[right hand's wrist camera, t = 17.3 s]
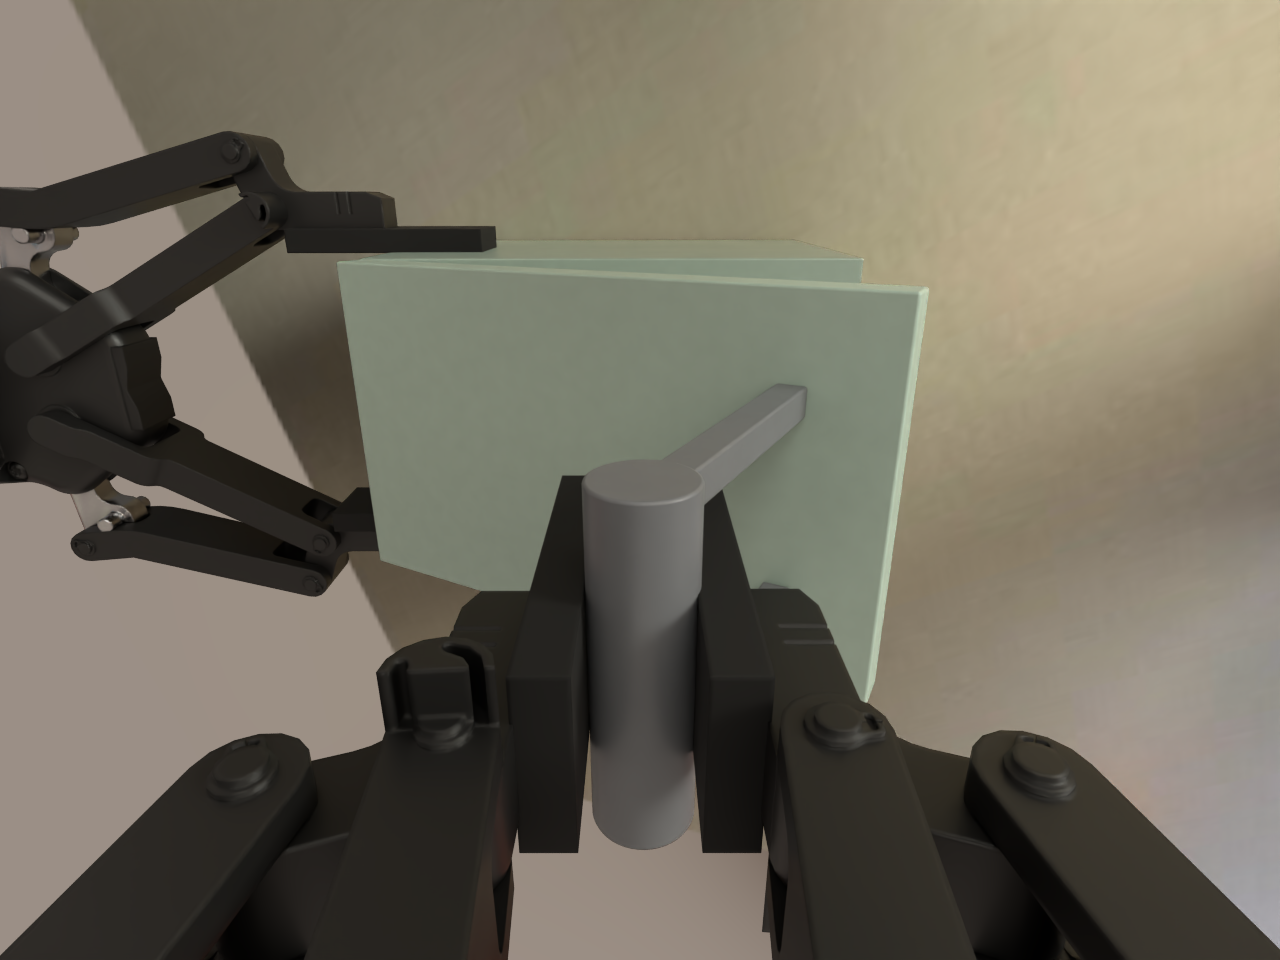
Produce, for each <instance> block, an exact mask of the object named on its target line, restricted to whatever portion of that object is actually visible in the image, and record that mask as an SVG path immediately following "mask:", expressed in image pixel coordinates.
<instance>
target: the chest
mask: <svg viewBox="0 0 1280 960" xmlns="http://www.w3.org/2000/svg"><path fill="white" fill-rule="evenodd" d="M496 244H497V247H496V248H493V249H490V250H487V251H484V252H391V253H386V254H381V255H376V256H371V257H366V258H362V259H359V260H363V259H369V260H389V261H410V262H431V263H451V264H472V265H493V266H513V267H534V268H555V269H575V270H596V271H617V272H638V273H658V274H679V275H700V276H720V277H741V278H762V279H782V280H803V281H824V282H844V283H861V277H862V268H863V258H860V257H856V256H853V255H849V254H845V253H841V252H838V251H834V250H830V249H827V248H823V247H819V246H816V245H812V244H808V243H805V242H801V241H796V240H496Z"/></svg>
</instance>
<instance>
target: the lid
mask: <svg viewBox="0 0 1280 960" xmlns="http://www.w3.org/2000/svg"><path fill="white" fill-rule="evenodd" d="M337 271H338V277H339V284H340V291H341V298H342V304H343V311H344V318H345V325H346V331H347V338H348V345H349V352H350V358H351V365H352V372H353V379H354V385H355V392H356V399H357V406H358V412H359V419H360V426H361V433H362V439H363V446H364V453H365V460H366V466H367V473H368V480H369V487H370V493H371V500H372V507H373V514H374V520H375V527H376V534H377V541H378V547H379V554H380V560H381V561H384V562H387V563H390V564H393V565H397V566H400V567H403V568H407V569H410V570H413V571H417V572H420V573H423V574H426V575H430V576H433V577H436V578H440V579H443V580H446V581H450V582H453V583H456V584H459V585H463V586H466V587H469V588H473V589H476V590H479V591H530V588H531V584H532V581H533V577H534V574H535V570H536V566H537V563H538V559H539V556H540V552H541V549H542V545H543V542H544V538H545V534H546V531H547V527H548V524H549V520H550V517H551V513H552V510H553V506H554V503H555V499H556V495H557V492H558V488H559V485H560V481H561V478H562V475H585V476H584V478H583V480H582V510H583V540H584V570H585V599H586V629H587V659H588V689H589V718H590V748H591V778H592V807H593V816H594V819H595V822H596V824H597V826H598V828H599V829H600V830H601V832H602V833H603V834H604V835H605V836H606V837H607V838H609V839H610V840H611V841H613V842H615V843H617V844H619V845H621V846H624V847H627V848H631V849H638V850H648V849H656V848H660V847H663V846H666V845H668V844H670V843H672V842H674V841H676V840H677V839H678V838H679V837H681V836H682V835H683V834H684V833H685V831H686V830H687V829H688V827H689V826H690V824H691V822H692V819H693V816H694V801H695V767H694V756H693V735H694V705H695V674H696V644H697V613H698V594H699V593H700V591H701V586H702V556H703V526H704V505H705V504H706V503H707V502H708V501H709V500H711V499H712V498H713V497H714V496H715V495H716V494H717V493H719V492H720V491H721V490H722V489H723V493H724V497H725V500H726V504H727V507H728V511H729V514H730V518H731V521H732V525H733V528H734V532H735V536H736V539H737V543H738V546H739V550H740V553H741V557H742V560H743V564H744V567H745V571H746V574H747V578H748V582H749V585H750V589H800V590H801V591H802V592H804V593H805V594H806V595H807V596H808V597H810V598H811V599H812V600H813V601H814V602H816V603H817V604H818V605H819V607H820V609H821V611H822V613H823V616H824V618H825V620H826V623H827V628H829V629H830V632H831V634H832V636H833V638H834V644H835V645H837V648H838V650H839V652H840V654H841V657H842V659H843V661H844V664H845V666H846V668H847V670H848V673H849V675H850V677H851V679H852V682H853V684H854V686H855V689H856V691H857V693H858V695H859V698H860V700H861V701H863V702H866V703H867V701H868V699H869V696H870V693H871V691H872V688H873V685H874V683H875V676H876V669H877V662H878V654H879V647H880V640H881V633H882V626H883V618H884V611H885V604H886V597H887V590H888V582H889V575H890V568H891V561H892V554H893V546H894V539H895V532H896V525H897V518H898V510H899V503H900V496H901V489H902V482H903V475H904V467H905V460H906V453H907V446H908V439H909V431H910V424H911V417H912V410H913V403H914V395H915V388H916V381H917V374H918V367H919V359H920V352H921V345H922V338H923V331H924V323H925V316H926V309H927V302H928V295H929V288H928V287H926V286H907V285H886V284H865V283H844V282H824V281H803V280H782V279H762V278H741V277H720V276H700V275H679V274H658V273H638V272H617V271H596V270H575V269H555V268H534V267H513V266H493V265H472V264H451V263H431V262H410V261H389V260H369V259H363V260H352V261H340V262H337Z"/></svg>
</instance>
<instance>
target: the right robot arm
mask: <svg viewBox="0 0 1280 960" xmlns="http://www.w3.org/2000/svg"><path fill="white" fill-rule="evenodd" d="M584 476H585V475H562V478H561V481H560V485H559V488H558V492H557V495H556V499H555V503H554V506H553V510H552V513H551V517H550V520H549V524H548V527H547V531H546V534H545V538H544V542H543V545H542V549H541V552H540V556H539V559H538V563H537V566H536V570H535V574H534V577H533V581H532V584H531V588H530V591H481V592H480V593H479V594H478V595H476V596H475V597H474V598H473V599H472V600H470V601H469V602H468V603H467V604H466V605H464V606H463V607H462V609H461V611H460V613H459V616H458V618H457V620H456V623H455V625H454V630H453V631H452V632H451V634H450V636H449V637H441V638H434V639H428V640H423V641H420V642H417V643H414V644H412V645H409V646H406V647H404V648H402V649H400V650H399V651H397V652H396V653H394V654H393V655H391V656H390V657H389V658H387V659H386V660H385V661H384V663H383V664H382V665H381V667H380V668H379V669H378V671H377V672H376V675H377V681H378V688H379V694H380V700H381V707H382V713H383V719H384V726H385V734H384V737H383V740H382V741H380V742H378V743H376V744H374V745H372V746H369V747H366V748H363V749H359V750H356V751H353V752H349V753H344V754H340V755H336V756H331V757H327V758H322V759H318V760H314V761H311V757H310V752H309V749H308V748H307V747H306V746H305V745H304V744H303V742H302V741H301V740H300V739H298V738H295V737H292V736H289V735H285V734H282V733H279V734H257V735H253V736H250V737H246V738H242V739H238V740H234V741H232V742H230V743H228V744H226V745H224V746H222V747H220V748H218V749H216V750H213V751H211V752H210V753H208V754H207V755H206V756H204V757H203V758H202V759H200V760H199V761H198V762H197V763H195V764H194V765H193V766H191V767H190V768H189V769H188V770H187V771H186V772H185V773H184V774H183V775H182V776H181V777H180V778H179V779H178V780H177V781H176V782H175V783H174V784H173V785H172V786H171V787H170V788H169V789H168V790H167V791H166V792H165V793H164V794H163V795H162V796H161V797H160V798H159V799H158V800H157V801H156V802H155V803H154V804H153V805H152V806H151V807H150V808H149V809H148V810H147V811H146V812H145V813H144V814H143V815H142V816H141V817H140V818H139V819H138V820H137V821H135V822H134V823H133V825H131V826H130V827H129V828H128V829H127V830H126V831H125V832H124V834H122V835H121V836H120V837H119V838H118V839H117V840H116V841H115V842H114V843H113V844H112V845H111V846H110V847H109V848H108V849H107V850H106V851H105V852H104V853H103V854H102V855H101V856H100V857H99V858H98V859H97V860H96V861H95V862H94V863H93V864H92V865H91V866H90V867H89V868H88V869H87V870H86V871H85V872H84V873H83V874H82V875H81V876H80V877H79V878H78V879H77V880H76V881H75V882H74V883H73V884H72V885H71V886H70V887H69V888H68V889H67V890H66V891H65V892H64V893H63V894H62V895H61V896H60V897H59V898H58V899H57V900H56V901H55V902H54V903H53V904H52V905H51V906H50V907H49V908H48V909H47V910H46V911H45V912H44V913H43V914H42V915H41V916H40V917H39V918H38V919H37V920H36V921H35V922H34V923H33V924H32V925H31V926H30V927H29V928H28V929H27V930H26V931H25V932H24V933H23V934H22V935H21V936H20V937H18V938H17V939H16V940H15V941H14V942H13V943H12V944H11V945H10V946H9V947H8V948H7V949H6V950H5V951H4V952H3V953H2V954H1V955H0V960H508V951H509V940H510V928H511V917H512V906H513V895H514V881H513V870H512V853H513V848H514V843H515V838H516V833H517V828H518V840H519V852H520V853H578V848H579V838H580V827H581V816H582V806H583V795H584V785H585V774H586V764H587V753H588V742H589V732H590V718H589V689H588V659H587V629H586V599H585V570H584V540H583V510H582V480H583V478H584ZM693 756H694V767H695V777H696V788H697V798H698V809H699V820H700V830H701V841H702V851H703V853H761V849H762V837H763V826H764V831H765V836H766V841H767V846H768V851H769V858H768V870H767V881H766V893H765V904H764V916H763V927H762V932H770V938H771V949H772V960H1280V949H1279V948H1278V947H1277V946H1276V945H1275V944H1274V943H1273V942H1272V941H1271V940H1270V939H1269V938H1268V937H1267V936H1266V935H1265V934H1264V933H1263V932H1262V931H1261V930H1260V929H1259V928H1258V927H1257V926H1256V925H1255V924H1254V923H1253V922H1251V921H1250V920H1249V919H1248V918H1247V917H1246V916H1245V915H1244V914H1243V913H1242V912H1241V911H1240V910H1239V909H1238V908H1237V907H1236V906H1235V905H1234V904H1233V903H1232V902H1231V901H1230V900H1229V899H1228V898H1227V897H1226V896H1225V895H1224V894H1223V893H1222V892H1221V891H1220V890H1219V889H1218V888H1217V887H1216V886H1215V885H1214V884H1213V883H1212V882H1211V881H1210V880H1209V879H1208V878H1207V877H1206V876H1205V875H1204V874H1203V873H1202V872H1201V871H1200V870H1199V869H1198V868H1197V867H1196V866H1195V865H1194V864H1193V863H1192V862H1191V861H1190V860H1188V859H1187V858H1186V857H1185V856H1184V855H1183V854H1182V853H1181V852H1180V851H1179V850H1178V849H1177V848H1176V847H1175V846H1174V845H1173V844H1172V843H1171V842H1170V841H1169V840H1168V839H1167V838H1166V837H1165V836H1164V835H1163V834H1162V833H1161V832H1160V831H1159V830H1158V829H1157V828H1156V827H1155V826H1154V825H1153V824H1152V823H1151V822H1150V821H1149V820H1148V819H1147V818H1146V817H1145V816H1144V815H1143V814H1142V813H1141V812H1140V811H1139V810H1138V809H1137V808H1136V807H1135V806H1134V805H1133V804H1132V803H1131V802H1130V801H1129V800H1128V799H1127V798H1125V797H1124V796H1123V795H1122V794H1121V793H1120V792H1119V791H1118V790H1117V789H1116V788H1115V787H1114V786H1113V785H1112V784H1111V783H1110V782H1109V781H1108V780H1107V779H1106V778H1105V777H1104V776H1103V775H1102V774H1101V773H1100V772H1099V771H1098V770H1097V769H1096V768H1095V767H1094V766H1093V765H1092V764H1091V763H1089V762H1088V761H1087V760H1085V759H1084V758H1083V757H1081V756H1080V755H1079V754H1077V753H1076V752H1075V751H1074V750H1072V749H1070V748H1068V747H1066V746H1064V745H1062V744H1060V743H1058V742H1056V741H1054V740H1052V739H1050V738H1048V737H1044V736H1040V735H1036V734H1032V733H1028V732H1024V731H1004V730H1000V731H996V732H993V733H990V734H986V735H983V736H982V737H981V738H980V739H979V740H978V741H977V742H976V743H975V744H974V745H973V747H972V751H971V756H970V758H967V757H963V756H958V755H954V754H950V753H945V752H941V751H936V750H932V749H928V748H925V747H921V746H918V745H915V744H912V743H909V742H907V741H905V740H903V739H901V738H898V737H897V736H896V733H895V731H894V729H893V728H892V726H891V724H890V723H889V721H888V720H887V718H886V717H885V716H884V715H883V714H882V713H880V712H879V711H878V710H876V709H875V708H874V707H872V706H871V705H870V704H868V703H866V702H863V701H861V700H860V698H859V695H858V693H857V691H856V689H855V686H854V684H853V682H852V679H851V677H850V675H849V673H848V670H847V668H846V666H845V664H844V661H843V659H842V657H841V654H840V652H839V650H838V648H837V645H835V644H834V638H833V636H832V634H831V632H830V629H829V628H827V623H826V620H825V618H824V616H823V613H822V611H821V609H820V607H819V605H818V604H817V603H816V602H814V601H813V600H812V599H811V598H810V597H808V596H807V595H806V594H805V593H804V592H802V591H801V590H800V589H750V585H749V582H748V578H747V574H746V571H745V567H744V564H743V560H742V557H741V553H740V550H739V546H738V543H737V539H736V536H735V532H734V528H733V525H732V521H731V518H730V514H729V511H728V507H727V504H726V500H725V497H724V493H723V489H722V490H721V491H720V492H719V493H717V494H716V495H715V496H714V497H713V498H712V499H711V500H709V501H708V502H707V503H706V504H705V505H704V526H703V556H702V586H701V591H700V593H699V594H698V613H697V644H696V674H695V705H694V735H693Z"/></svg>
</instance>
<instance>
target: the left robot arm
mask: <svg viewBox="0 0 1280 960" xmlns="http://www.w3.org/2000/svg"><path fill="white" fill-rule="evenodd" d="M283 164H284V154H283V151H282V149H281V147H280V146H279V144H277V143H276V142H275V141H274V140H272V139H270V138H267V137H261V136H255V135H250V134H244V133H238V132H232V131H226V132H220V133H217V134H214V135H211V136H207V137H204V138H201V139H198V140H194V141H191V142H188V143H185V144H182V145H178V146H175V147H172V148H169V149H166V150H162V151H159V152H156V153H153V154H149V155H146V156H143V157H140V158H137V159H133V160H130V161H127V162H124V163H121V164H117V165H114V166H111V167H108V168H104V169H101V170H98V171H95V172H92V173H88V174H85V175H82V176H79V177H75V178H72V179H69V180H66V181H63V182H59V183H56V184H53V185H50V186H46V187H43V188H23V187H0V264H1V269H0V484H1V483H18V482H35V483H39V484H43V485H46V486H48V487H51V488H53V489H55V490H57V491H60V492H63V493H67V494H71V497H72V499H73V502H74V504H75V507H76V509H77V512H78V514H79V517H80V519H81V521H82V524H83V526H84V529H85V530H83V531H81V532H80V533H78V534H76V535H75V536H74V537H73V538H72V540H71V548H72V550H73V551H74V553H75V554H76V555H77V556H78V557H80V558H82V559H84V560H88V561H97V560H109V559H121V558H133V557H134V558H138V559H143V560H147V561H152V562H157V563H161V564H166V565H170V566H175V567H179V568H184V569H188V570H193V571H197V572H202V573H207V574H211V575H216V576H220V577H225V578H229V579H234V580H238V581H243V582H247V583H252V584H257V585H261V586H266V587H270V588H275V589H279V590H284V591H289V592H293V593H297V594H302V595H307V596H315V597H316V596H319V595H322V594H323V593H324V592H325V591H326V590H327V588H328V587H329V586H330V585H331V583H332V582H333V581H334V579H335V578H336V577H337V576H338V575H339V573H340V572H341V571H342V569H343V568H344V567H345V566H346V564H347V563H348V560H349V554H348V552H349V551H379V547H378V541H377V534H376V527H375V520H374V514H373V507H372V500H371V493H370V488H356V489H355V490H354V491H353V492H352V493H351V494H350V495H349V496H348V497H347V498H346V500H345V501H344V502H343V503H341V502H339V501H337V500H335V499H333V498H331V497H328V496H326V495H324V494H322V493H320V492H318V491H316V490H313V489H311V488H309V487H307V486H305V485H303V484H300V483H298V482H296V481H294V480H292V479H290V478H287V477H285V476H283V475H281V474H279V473H277V472H274V471H272V470H270V469H268V468H266V467H264V466H261V465H259V464H257V463H255V462H253V461H250V460H248V459H246V458H244V457H242V456H240V455H237V454H235V453H233V452H231V451H229V450H227V449H224V448H222V447H220V446H218V445H216V444H214V443H212V442H209V441H208V440H206V439H205V438H204V434H203V433H202V432H201V431H200V430H198V429H196V428H194V427H192V426H190V425H188V424H185V423H183V422H181V421H179V420H177V419H175V418H173V417H174V416H175V412H174V408H173V403H172V399H171V396H170V394H169V392H168V390H167V388H166V387H165V385H164V383H163V381H162V379H161V354H160V350H159V346H158V341H157V338H156V337H149V336H148V334H147V332H146V331H145V330H146V329H148V328H150V327H151V326H153V325H154V324H156V323H158V322H159V321H161V320H162V319H164V318H165V317H167V316H169V315H170V314H172V313H173V312H174V311H175V308H176V307H178V306H179V305H181V304H182V303H184V302H186V301H187V300H189V299H190V298H192V297H194V296H195V295H197V294H198V293H200V292H201V291H203V290H205V289H206V288H208V287H209V286H211V285H212V284H214V283H216V282H217V281H219V280H220V279H222V278H223V277H225V276H227V275H228V274H230V273H231V272H233V271H234V270H236V269H238V268H239V267H241V266H242V265H244V264H245V263H247V262H249V261H250V260H252V259H253V258H255V257H256V256H258V255H260V254H261V253H263V252H264V251H266V250H267V249H269V248H271V247H272V246H274V245H275V244H277V243H278V242H280V241H282V240H283V239H285V241H286V247H287V253H391V252H484V251H487V250H490V249H493V248H496V247H497V244H496V230H495V226H397V218H396V209H395V201H394V198H392V197H390V196H388V195H385V194H383V193H380V192H308V191H305V190H302V189H301V188H299V187H298V186H296V184H295V183H294V182H293V181H292V180H291V178H290V177H289V175H288V173H287V171H286V169H285V167H284V165H283ZM236 185H237V186H238V188H239V190H240V192H241V193H240V194H239V195H240V197H243V199H242V200H240V201H239V202H237V203H236V204H234V205H233V206H231V207H230V208H228V209H227V210H225V211H224V212H222V213H221V214H219V215H218V216H216V217H215V218H213V219H211V220H210V221H208V222H207V223H205V224H204V225H202V226H201V227H199V228H198V229H196V230H195V231H193V232H192V233H190V234H189V235H187V236H186V237H184V238H183V239H181V240H179V241H178V242H176V243H175V244H173V245H172V246H170V247H169V248H167V249H166V250H164V251H163V252H161V253H160V254H158V255H157V256H155V257H154V258H152V259H151V260H149V261H147V262H146V263H144V264H143V265H141V266H140V267H138V268H137V269H135V270H134V271H132V272H131V273H129V274H128V275H126V276H125V277H123V278H122V279H120V280H119V281H117V282H116V283H114V284H112V285H111V286H109V287H107V288H105V289H102V290H99V291H97V292H94V293H92V292H90V291H88V290H87V289H85V288H83V287H82V286H80V285H79V284H77V283H75V282H74V281H72V280H70V279H69V278H67V277H66V276H64V275H62V274H61V273H59V272H57V271H56V270H54V269H51V268H50V267H49V261H50V257H51V256H52V254H53V253H55V252H57V251H61V250H65V249H68V248H69V247H70V246H71V245H72V243H73V240H76V239H77V238H78V237H79V231H78V229H77V227H91V226H101V225H105V224H110V223H114V222H117V221H121V220H124V219H127V218H130V217H134V216H137V215H140V214H144V213H147V212H150V211H154V210H157V209H160V208H163V207H167V206H170V205H173V204H177V203H180V202H183V201H187V200H190V199H193V198H196V197H200V196H203V195H206V194H210V193H213V192H216V191H220V190H223V189H226V188H229V187H233V186H236ZM117 475H118V476H120V477H122V478H125V479H127V480H129V481H132V482H134V483H136V484H139V485H143V486H162V487H164V488H167V489H169V490H171V491H173V492H176V493H178V494H180V495H182V496H185V497H187V498H189V499H191V500H194V501H196V502H198V503H200V504H203V505H205V506H207V507H209V508H212V509H214V510H216V511H219V512H221V513H223V514H225V515H227V516H230V517H232V518H234V519H236V520H239V521H241V522H239V521H234V520H230V519H226V518H221V517H217V516H212V515H208V514H204V513H199V512H195V511H190V510H186V509H181V508H176V507H167V506H150V501H149V500H148V499H147V498H146V497H143V496H139V497H137V498H135V497H133V496H127V495H123V494H120V493H119V492H117V491H116V490H115V489H114V488H113V487H112V485H111V483H110V480H112V479H113V478H114V477H115V476H117Z"/></svg>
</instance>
